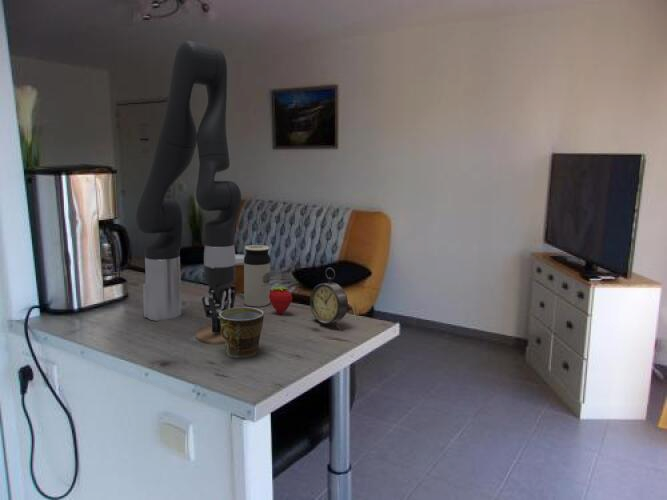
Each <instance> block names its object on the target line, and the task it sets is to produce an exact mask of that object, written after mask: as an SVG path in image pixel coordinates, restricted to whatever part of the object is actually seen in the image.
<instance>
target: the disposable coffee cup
mask: <svg viewBox="0 0 667 500" xmlns="http://www.w3.org/2000/svg"><path fill="white" fill-rule="evenodd" d="M245 255H246V254H239V253H237V254H236V253H235V281H234V282H233V283H231V285H234V286H236V287H237V289H236V294H242V293H244V257H245ZM237 292H238V293H237Z"/></svg>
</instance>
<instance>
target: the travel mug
mask: <svg viewBox="0 0 667 500" xmlns="http://www.w3.org/2000/svg"><path fill="white" fill-rule="evenodd" d="M244 249H245V254H244V255H245V257H244V292H243V302H244V305H246V306H248V307H251V308H257V307H258V308H259V307H265V306H268V305H269V304H271V302H270V299H269V294H270V292H271V257H270V254H269V250H270V247H269V246H268V245H262V244H250V245H246V246H244Z"/></svg>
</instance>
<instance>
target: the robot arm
mask: <svg viewBox="0 0 667 500" xmlns="http://www.w3.org/2000/svg"><path fill="white" fill-rule="evenodd" d="M180 43H181V44H179V46H178V47H177V50H176V53H175V55H174V60H173V65H172V71H171V79H170V85H169V91H168V97H167V103H166V107H165V111H164V113H163V114H164V115H163V118H162V119H163V120H162V123H161V127H160V129H159V133H158V137H157V142H156V145H155V149H154V155H153V159H152V163H151V166H150V171H149V173H148V177H147V180H146V182H145V184H144V188H143V190H142V193H141V196H140V198H139V201H138V204H137V207H136V215H135V217H136V218H135V219H136V220H135V221H136V224H137V228H138V229H139V230H140V231H141V232H142V233H143V234H144V233H145V234H159V235H158V237H157V238H156V239H155V240H154V241H152V242H151V243H149V244H148V245H147V246H145V248H144V265H145V267H144V268H145V283H143V284H142V299H143V301H142V302H143V317H144V318H147V319H148V320H151V321H154V322H155V321H156V322H160V321H162V320H163V321H164V320H171V319H176V318H178V317H180V316H181V315H182V293H181V292H182V286H181V254H180V253H181V249H182V245H183V244H182V243H183V212H182V207H181V205H180V203H179V202H178V201H177V199H174V198H170V197H169V198H168V197H167V198H166V195H167V192H168V191H169V190H170V188H171V187H172V185H173V184H175V182H176V181H177V180H178V179H179V178H180V177H181V175H183V173H184V172H185V171H186V170H187V169H188V168H189V166H190V164H191V162H192V159H193V157H194V155H195V151H196V148H197V154H198V160H199V168H198V170H199V171H198V177H197V184H196V190H195V198H196V199H195V200H196V202H197V204H198V207H200V209H201V210H203V211H206V212H214V211H220V212H219V215H218V217H216V218H215V219H210V220H209V221H207V222H206V223H205V224H204V249H203V279H204V282H205V283H206V284H208V286H209V287H208V292H207V293H208V294H207V295H206V296H202V297H201V301H202V305H203V309H204V314H205V316H206V318H207V319H208V318H209V319H211V325H212V332H214V333H220V332H221V322H220V316H219V314H220V313H221V311H224V310H226V309H230V308H235V307H234V306H235V301H236V295H237V293H236V289H237V287H236V286H234V285H231V283H233V282H234V281H235V254H236V250H235V226H236V222H237V217H238V213H239V210H240V206H241V203H242V192H241V189H240V186H239V185H238V184H237V183H236V182H235V181H232V180H215V176H216V173H220V172H223V171H226V170H228V169H229V168H230V156H229V148H228V146H229V145H228V140H227V139H228V138H227V127H226V126H227V124H226V121H227V120H226V119H227V117H226V115H227V99H228V98H227V96H228V95H227V93H228V92H227V91H228V90H227V89H228V66H227V60H226V56H225V54H224V52H223V51H222V50H221V49H220V48H218V47H216V46H211V45H209V44H205V43H201V42H198V41H194V40H188V39H187V40H183V41H182V42H180ZM194 85H201V86H205V87H206V92H207V105H206V108H205V112H204V113H203V117H202V119H201V121H200V123H199V125H198V129H197V127H196V125H195V124H196V123H195V120H194V117H193V114H192V110H191V97H192V92H193V88H194ZM196 146H197V147H196ZM217 310H218V311H217Z"/></svg>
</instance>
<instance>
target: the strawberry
mask: <svg viewBox="0 0 667 500" xmlns="http://www.w3.org/2000/svg"><path fill="white" fill-rule="evenodd" d="M277 282H278V286H275V287H274V288H270V294H269V299H270V304H271V306H272V307H273V309H275V311H276V312H277V314H278V315H281V316H282V315H283V314H284V313H285V312H286V311H287V310H288V308H289V307H290V305H291V303H292V300H293V296H292V293H291V292H290V290H288V289H289V287H286V286H280V283H279V282H280V281H277Z"/></svg>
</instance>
